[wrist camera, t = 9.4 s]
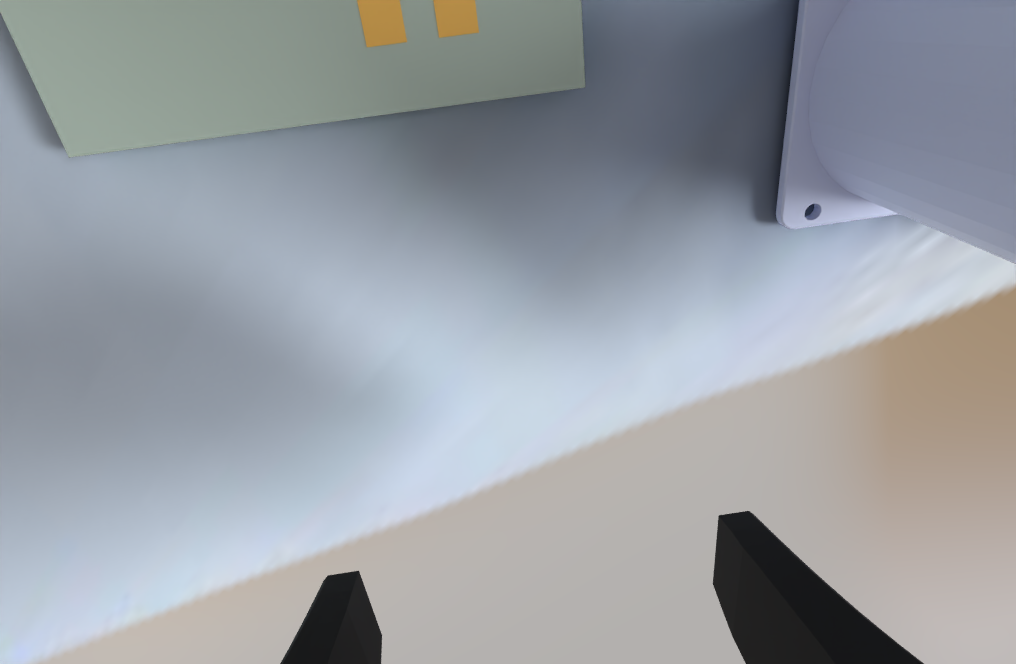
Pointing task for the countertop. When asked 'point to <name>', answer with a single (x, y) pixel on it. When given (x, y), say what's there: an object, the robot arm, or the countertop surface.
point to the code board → (279, 62)
